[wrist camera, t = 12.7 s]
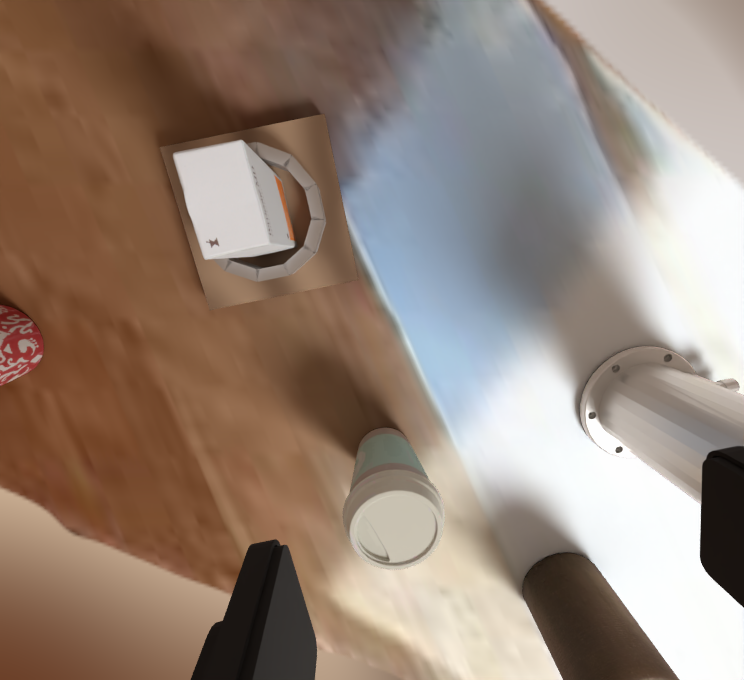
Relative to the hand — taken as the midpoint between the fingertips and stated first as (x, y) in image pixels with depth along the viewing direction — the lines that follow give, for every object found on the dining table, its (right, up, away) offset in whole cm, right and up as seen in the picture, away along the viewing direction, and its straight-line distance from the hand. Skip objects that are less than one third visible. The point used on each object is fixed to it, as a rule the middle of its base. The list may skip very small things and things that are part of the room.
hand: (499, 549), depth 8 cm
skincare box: (-12, +15, +25) cm, 32 cm away
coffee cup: (-2, -8, +33) cm, 34 cm away
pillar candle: (+21, -26, +39) cm, 51 cm away
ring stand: (-12, +16, +27) cm, 33 cm away
